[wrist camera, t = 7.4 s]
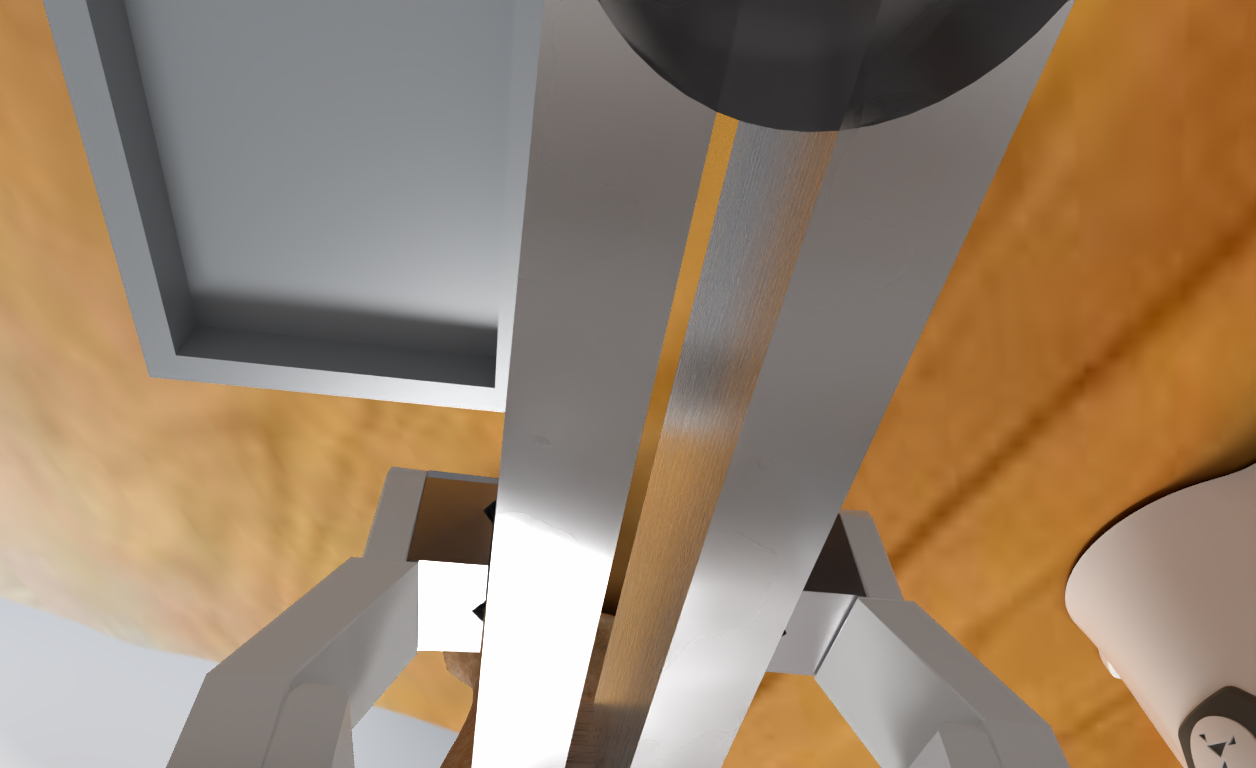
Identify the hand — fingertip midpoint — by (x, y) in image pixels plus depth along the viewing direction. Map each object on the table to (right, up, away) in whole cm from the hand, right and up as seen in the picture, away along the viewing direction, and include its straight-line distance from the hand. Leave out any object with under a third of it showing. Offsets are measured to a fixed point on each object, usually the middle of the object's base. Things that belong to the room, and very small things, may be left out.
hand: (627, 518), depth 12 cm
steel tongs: (0, +1, +1) cm, 2 cm away
